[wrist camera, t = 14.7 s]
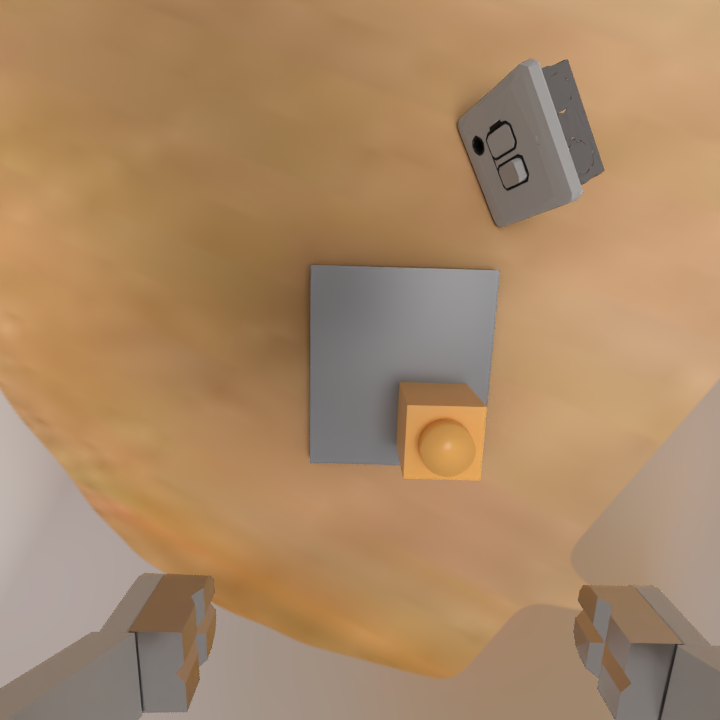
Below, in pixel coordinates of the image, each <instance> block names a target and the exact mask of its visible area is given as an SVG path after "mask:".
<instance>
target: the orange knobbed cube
mask: <svg viewBox="0 0 720 720" xmlns="http://www.w3.org/2000/svg"><path fill="white" fill-rule="evenodd" d="M486 414H487V406H486V405H485V404H484V403H483V402H482V401H481V400H480V398H479V397H478V396H477V395H476V394H475V393H474V392H473V391H472V390H471V388H470V387H469V386H468V385H467V384H458V383H419V382H399V399H398V420H397V440H396V446H397V451H398V455H399V460H400V465H401V470H402V475H403V479H442V480H480V477H481V467H482V456H483V446H484V435H485V424H486Z"/></svg>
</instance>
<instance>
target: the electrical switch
mask: <svg viewBox="0 0 720 720" xmlns="http://www.w3.org/2000/svg"><path fill="white" fill-rule="evenodd" d="M566 78H567V79H568V80H567V79H566ZM556 108H557V109H556ZM564 109H566V110H565V112H564V113H559V112H561V111H563V110H564ZM458 129H459V132H460V135H461V137H462V140H463V142H464V145H465V148H466V150H467V153H468V155H469V158H470V160H471V163H472V165H473V168H474V171H475V173H476V176H477V178H478V181H479V183H480V186H481V188H482V191H483V194H484V196H485V199H486V201H487V204H488V206H489V209H490V211H491V214H492V217H493V219H494V222H495V223H496V225H498V226H499V227H503V226H507V225H510V224H513V223H515V222H518V221H521V220H524V219H527V218H529V217H532V216H535V215H538V214H540V213H543V212H546V211H549V210H552V209H554V208H557V207H560V206H563V205H565V204H568V203H571V202H573V201H576V200H577V199H578V198H579V197H580V196H581V195H582V193H583V190H582V187H581V185H582V184H584V183H586V182H587V181H588V180H589V179H591V178H593V177H595V176H597V175H599V174H601V172H603V171H604V167H603V164H602V161H601V158H600V155H599V152H598V149H597V146H596V143H595V140H594V137H593V134H592V131H591V128H590V125H589V122H588V119H587V116H586V113H585V110H584V107H583V104H582V101H581V98H580V95H579V92H578V89H577V86H576V83H575V80H574V77H573V74H572V71H571V68H570V65H569V62H568V60H564V61H562V62H559V63H557V64H555V65H553V66H546V67H544V68H542V69H541V66H540V63H539V61H537V60H534V59H531V58H530V59H529V60H527V61H525V62H523V63H521V64H519V65H518V66H517V67H516V68H515V69H514V70H513V71H511V72H510V73H509V74H508V75H507V76H506V77H505V78H504V79H503V80H502V81H501V82H499V83H498V84H497V85H496V86H495V87H494V88H493V89H492V90H491V91H490V92H489V93H487V94H486V95H485V96H484V97H483V98H482V99H481V100H480V101H479V102H478V103H477V104H475V105H474V106H473V107H472V108H471V109H470V110H469V111H468V112H467V113H466V114H465V115H463V116H462V117H461V118H460V119H459V123H458ZM572 137H575V138H573V139H572V140H571V138H572ZM578 141H580V142H578ZM569 148H570V150H569ZM592 150H593V153H592ZM591 166H592V167H591ZM590 167H591V168H590ZM577 173H579V174H577Z"/></svg>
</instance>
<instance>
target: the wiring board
mask: <svg viewBox="0 0 720 720" xmlns="http://www.w3.org/2000/svg"><path fill="white" fill-rule="evenodd" d="M499 276H500V270H473V269H439V268H405V267H370V266H336V265H311V312H310V463H339V464H380V465H400V460H399V455H398V451H397V446H396V440H397V420H398V399H399V382H419V383H458V384H467V385H468V386H469V387H470V388H471V390H472V391H473V392H474V393H475V394H476V395H477V396H478V397H479V398H480V400H481V401H482V402H483V403H484V404H485V405H486V406H487V402H488V392H489V381H490V371H491V360H492V350H493V339H494V329H495V318H496V308H497V297H498V287H499Z"/></svg>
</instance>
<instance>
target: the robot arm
mask: <svg viewBox="0 0 720 720" xmlns="http://www.w3.org/2000/svg"><path fill="white" fill-rule="evenodd" d="M214 593H215V587H214V579H213V577H212V576H203V575H183V574H154V573H144V574H142V575H140V576H139V577H138V578H137V579H136V581H135V582H134V584H133V585H132V586H131V588H130V589H129V591H128V592H127V593H126V595H125V597H124V598H123V599H122V601H121V602H120V603H119V605H118V606H117V608H116V609H115V610H114V612H113V613H112V615H111V616H110V618H109V619H108V620H107V622H106V623H105V625H104V626H103V627H102V629H101V630H100V632H91V633H90V634H88V635H86V636H84V637H83V638H81V639H80V640H78V641H77V642H75V643H73V644H72V645H70V646H68V647H67V648H65V649H64V650H62V651H60V652H59V653H57V654H55V655H54V656H52V657H51V658H49V659H47V660H46V661H44V662H42V663H41V664H39V665H38V666H36V667H34V668H33V669H31V670H30V671H28V672H26V673H25V674H23V675H21V676H20V677H18V678H17V679H15V680H13V681H12V682H10V683H8V684H7V685H5V686H4V687H2V688H0V720H138V719H139V718H140V717H141V716H142V713H152V712H153V713H154V712H187V711H188V709H189V706H190V703H191V701H192V698H193V696H194V693H195V690H196V688H197V685H198V683H199V680H200V679H199V678H200V677H199V666H201V665H202V664H203V663H204V662H205V661H206V660H207V659H208V656H209V654H210V651H211V648H212V644H213V639H214V634H215V628H216V609H215V608H214V607H213V606H212V605H211V600H212V598H213V595H214ZM578 602H579V603H580V605H581V606H582V608H583V611H582V612H581V613H580V614H579V615H578V616H577V617H576V618H575V624H574V638H575V645H576V648H577V651H578V654H579V657H580V659H581V660H582V662H583V664H584V666H585V668H586V669H587V670H589V671H590V672H591V673H592V674H594V675H595V676H596V677H598V678H599V680H598V686H597V689H598V691H599V693H600V695H601V696H602V698H603V700H604V702H605V703H606V705H607V707H608V709H609V710H610V712H611V714H612V716H613V718H614V719H615V720H720V646H711V645H710V644H709V642H708V641H707V640H706V639H705V638H704V637H703V636H702V635H701V634H700V633H699V632H698V631H697V630H696V629H695V627H694V626H693V625H692V624H691V623H690V622H689V621H688V620H687V619H686V618H685V617H684V616H683V614H682V613H681V612H680V611H679V610H678V609H677V608H676V607H675V606H674V605H673V604H672V603H671V602H670V601H669V600H668V598H667V597H666V596H665V595H664V594H663V593H662V592H661V591H660V590H659V589H658V588H656V587H654V586H653V585H629V586H610V585H583V586H582V588H581V589H580V592H579V597H578Z"/></svg>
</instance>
